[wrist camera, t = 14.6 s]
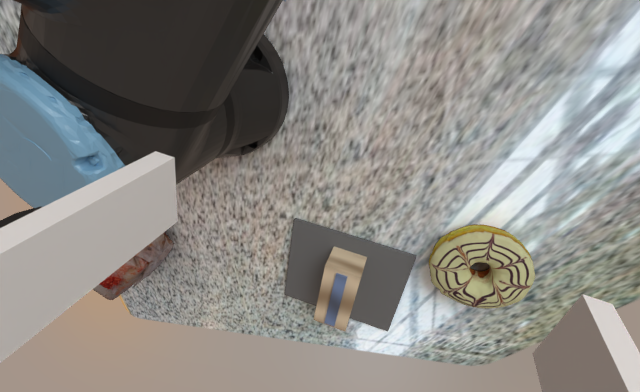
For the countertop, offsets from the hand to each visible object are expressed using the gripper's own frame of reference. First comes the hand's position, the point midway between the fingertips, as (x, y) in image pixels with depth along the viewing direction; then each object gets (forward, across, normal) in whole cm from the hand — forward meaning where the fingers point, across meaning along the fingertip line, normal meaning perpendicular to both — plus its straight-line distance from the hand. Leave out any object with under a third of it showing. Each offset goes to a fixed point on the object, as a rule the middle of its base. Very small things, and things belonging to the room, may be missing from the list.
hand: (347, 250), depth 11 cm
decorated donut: (+27, +13, -17) cm, 34 cm away
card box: (+26, -1, -26) cm, 37 cm away
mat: (+27, -1, -26) cm, 37 cm away
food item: (+27, -34, -34) cm, 55 cm away
